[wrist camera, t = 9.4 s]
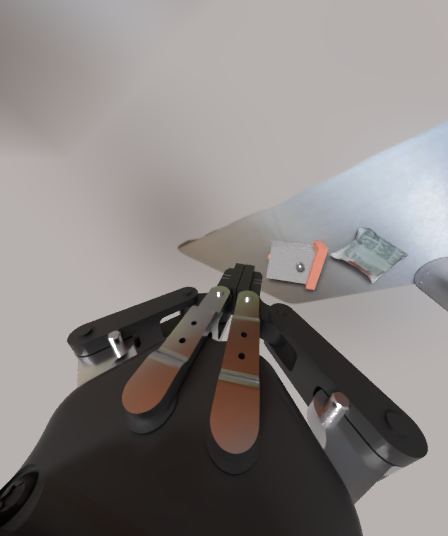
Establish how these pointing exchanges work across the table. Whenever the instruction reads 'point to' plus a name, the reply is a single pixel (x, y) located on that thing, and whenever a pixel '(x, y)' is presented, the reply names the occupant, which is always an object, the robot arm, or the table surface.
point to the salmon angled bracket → (316, 264)
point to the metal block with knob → (290, 261)
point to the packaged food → (370, 253)
